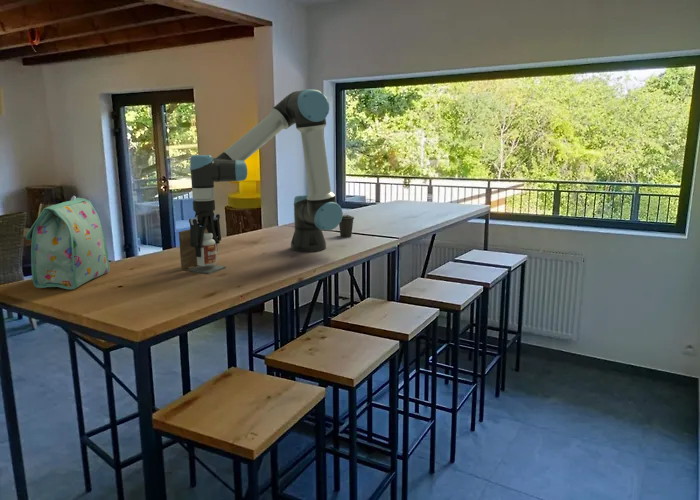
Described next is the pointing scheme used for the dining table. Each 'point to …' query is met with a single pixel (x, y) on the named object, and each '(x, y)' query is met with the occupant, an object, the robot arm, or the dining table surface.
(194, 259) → the wooden board
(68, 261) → the lunch bag
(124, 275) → the dining table surface
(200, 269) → the coaster
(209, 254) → the pill bottle
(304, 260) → the dining table surface
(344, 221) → the coffee cup
